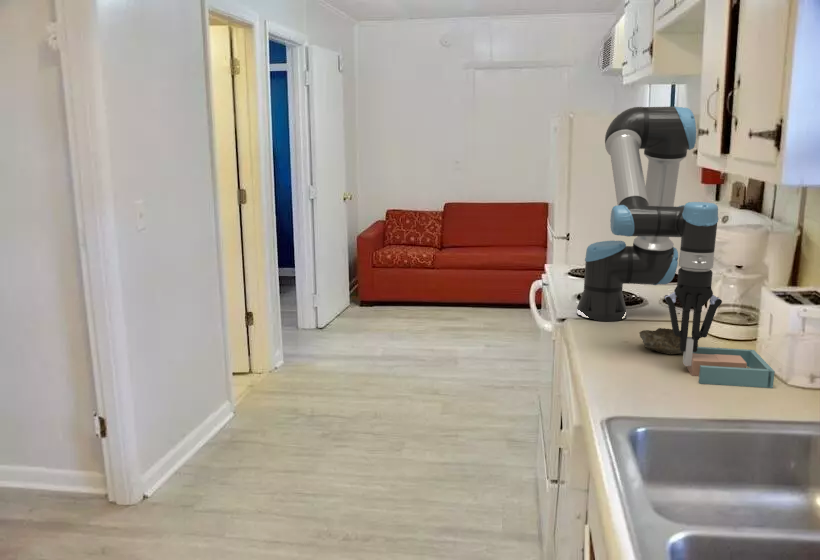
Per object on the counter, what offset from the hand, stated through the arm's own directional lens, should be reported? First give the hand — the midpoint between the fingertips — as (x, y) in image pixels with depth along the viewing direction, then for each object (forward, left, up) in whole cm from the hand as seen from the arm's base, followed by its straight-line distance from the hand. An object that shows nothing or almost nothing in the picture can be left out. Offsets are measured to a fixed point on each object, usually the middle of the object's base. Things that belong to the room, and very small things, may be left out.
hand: (687, 364), depth 174 cm
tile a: (0, +10, -2) cm, 10 cm away
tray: (0, +9, -2) cm, 9 cm away
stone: (-17, -3, -2) cm, 17 cm away
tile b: (0, +4, -2) cm, 4 cm away
